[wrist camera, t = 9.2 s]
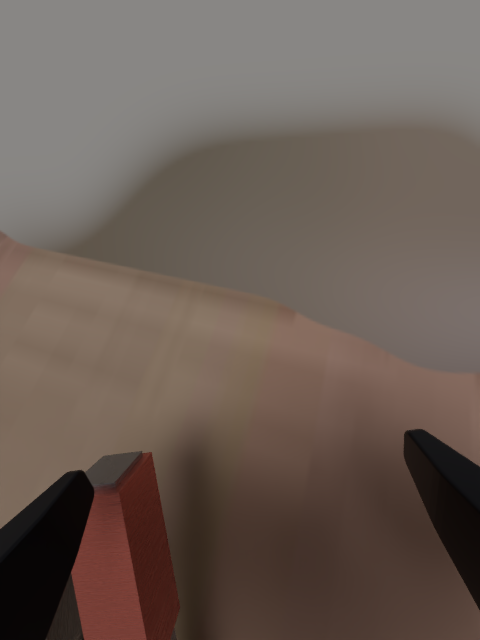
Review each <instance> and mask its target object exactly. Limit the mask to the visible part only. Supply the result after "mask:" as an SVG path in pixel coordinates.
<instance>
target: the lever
mask: <svg viewBox="0 0 480 640" xmlns="http://www.w3.org/2000/svg"><path fill="white" fill-rule="evenodd" d="M85 474H86V475H87V477H88V479H89V480H90V482H91V484H92V485H93V487H94V491H95V494H94V500H93V503H92V506H91V510H90V513H89V517H88V520H87V524H86V527H85V531H84V534H83V538H82V541H81V545H80V548H79V551H78V554H77V558H76V560H75V563H74V566H73V569H72V572H71V574H72V579H73V585H74V590H75V595H76V600H77V605H78V610H79V616H80V621H81V626H82V631H83V636H84V640H177V638H176V633H175V628H174V626H175V622H176V619H177V616H178V612H179V609H180V604H179V599H178V593H177V588H176V582H175V577H174V572H173V566H172V561H171V555H170V550H169V544H168V539H167V533H166V528H165V523H164V517H163V512H162V506H161V501H160V495H159V490H158V484H157V479H156V474H155V468H154V463H153V457H152V452H149V453H142V451H139V452H131V453H123V454H115V455H107V456H103V457H102V458H101V459H100V460H98V461H97V462H96V463H95V464H94V465H93V466H92V467H91V468H90V469H88V470H87V471H86V472H85Z"/></svg>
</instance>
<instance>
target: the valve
mask: <svg viewBox="0 0 480 640" xmlns="http://www.w3.org/2000/svg"><path fill="white" fill-rule="evenodd" d="M46 640H84V636H83V631H82V626H81V621H80V616H79V610H78V605H77V600H76V595H75V590H74V585H73V579H72V574H70V577H69V579H68V582H67V585H66V587H65V590H64V593H63V595H62V598H61V601H60V603H59V606H58V609H57V611H56V614H55V617H54V619H53V622H52V625H51V627H50V630H49V633H48V635H47V638H46Z"/></svg>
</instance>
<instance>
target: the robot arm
mask: <svg viewBox="0 0 480 640" xmlns="http://www.w3.org/2000/svg"><path fill="white" fill-rule="evenodd" d="M404 458H405V462H406V464H407V466H408V469H409V471H410V473H411V476H412V478H413V480H414V482H415V485H416V487H417V489H418V492H419V494H420V496H421V499H422V501H423V503H424V505H425V508H426V510H427V512H428V515H429V517H430V519H431V521H432V523H433V526H434V528H435V530H436V531H437V533H438V535H439V537H440V539H441V541H442V543H443V545H444V546H445V548H446V550H447V552H448V554H449V555H450V557H451V559H452V561H453V563H454V564H455V566H456V568H457V570H458V572H459V574H460V575H461V577H462V579H463V581H464V583H465V584H466V586H467V588H468V590H469V592H470V594H471V595H472V597H473V599H474V601H475V603H476V604H477V606H478V608H479V610H480V467H479V466H478V465H476V464H475V463H473V462H472V461H470V460H469V459H467V458H466V457H464V456H463V455H461V454H460V453H458V452H457V451H455V450H454V449H452V448H451V447H449V446H448V445H446V444H445V443H443V442H442V441H440V440H439V439H437V438H436V437H434V436H433V435H431V434H430V433H428V432H427V431H425V430H423V429H415V430H407V431H406V432H405V434H404ZM94 494H95V491H94V487H93V485H92V484H91V482H90V480H89V479H88V477H87V475H86V474H85V472H84V471H82V470H77V471H70V472H67V473H66V474H64V475H63V476H62V477H61V478H60V479H58V480H57V481H56V482H55V483H54V484H53V485H51V486H50V487H49V488H48V489H47V490H46V491H44V492H43V493H42V494H41V495H40V496H39V497H37V498H36V499H35V500H34V501H33V502H32V503H30V504H29V505H28V506H27V507H26V508H25V509H23V510H22V511H21V512H20V513H19V514H17V515H16V516H15V517H14V518H13V519H12V520H10V521H9V522H8V523H7V524H6V525H5V526H3V527H2V528H1V529H0V640H46V638H47V635H48V633H49V630H50V627H51V625H52V622H53V619H54V617H55V614H56V611H57V609H58V606H59V603H60V601H61V598H62V595H63V593H64V590H65V587H66V585H67V582H68V579H69V577H70V574H71V572H72V569H73V566H74V563H75V560H76V558H77V554H78V551H79V548H80V545H81V541H82V538H83V534H84V531H85V527H86V524H87V520H88V517H89V513H90V510H91V506H92V503H93V500H94Z"/></svg>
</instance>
